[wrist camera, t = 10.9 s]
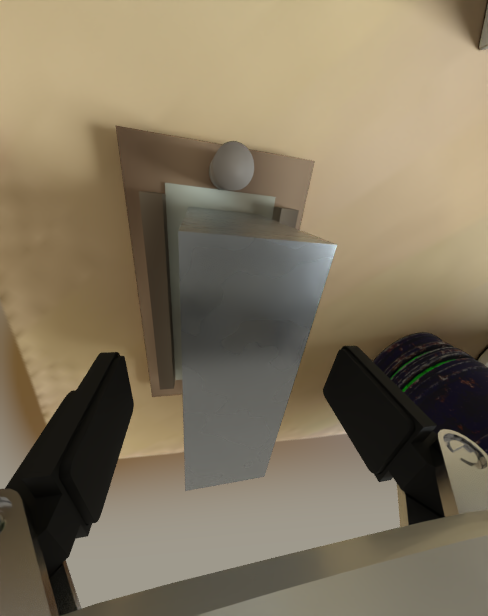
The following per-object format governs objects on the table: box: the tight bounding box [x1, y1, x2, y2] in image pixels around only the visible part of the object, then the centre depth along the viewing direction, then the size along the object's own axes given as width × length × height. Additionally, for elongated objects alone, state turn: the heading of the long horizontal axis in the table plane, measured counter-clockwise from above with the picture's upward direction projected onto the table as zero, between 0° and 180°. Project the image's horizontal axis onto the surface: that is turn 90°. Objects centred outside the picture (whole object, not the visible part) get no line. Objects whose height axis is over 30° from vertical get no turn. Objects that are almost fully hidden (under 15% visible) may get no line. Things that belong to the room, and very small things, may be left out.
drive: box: [178, 207, 337, 491], centre depth 11 cm, size 4×12×8 cm, turn 173°
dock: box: [116, 126, 315, 397], centre depth 14 cm, size 10×18×5 cm, turn 173°
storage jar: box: [373, 333, 488, 455], centre depth 19 cm, size 10×10×15 cm
